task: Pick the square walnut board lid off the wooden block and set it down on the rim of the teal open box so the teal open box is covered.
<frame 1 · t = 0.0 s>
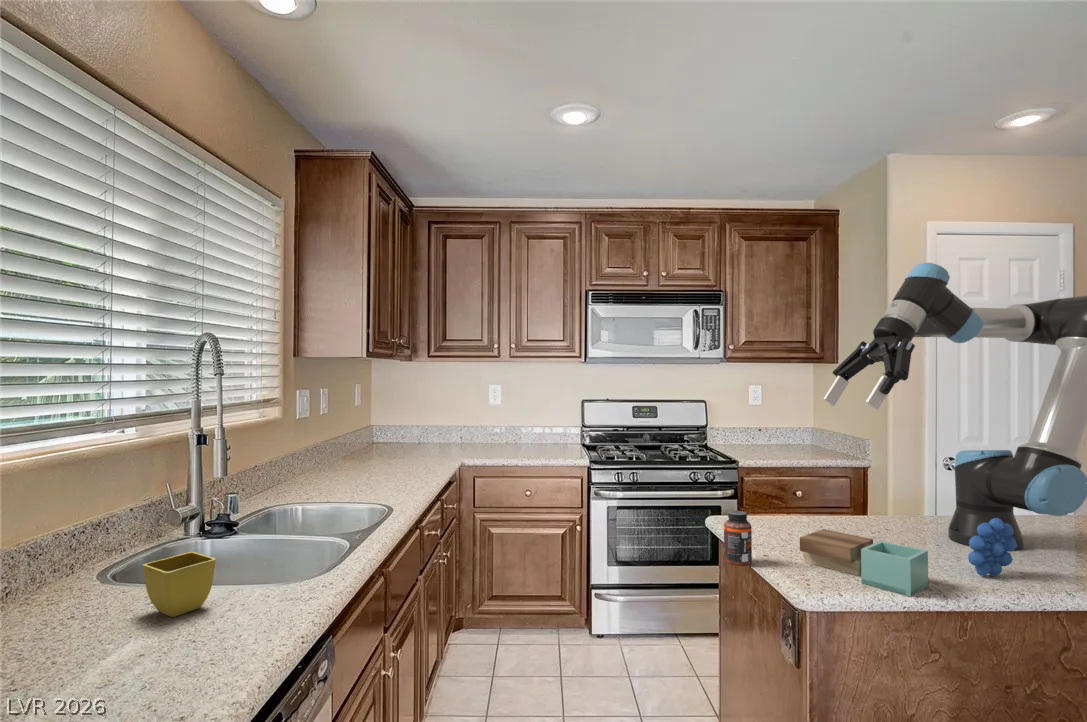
hand: (848, 404, 128), 36 cm above the countertop, tool tilted 35°, fingers open, 13 cm apart
grapes: (988, 575, 125), on the countertop
teal open box: (894, 584, 120), on the countertop
wooden block: (836, 565, 132), on the countertop
flower pot: (179, 611, 108), on the countertop
supplement bottle: (737, 563, 134), on the countertop
lid: (836, 551, 132), point 3 cm above the countertop, touching wooden block
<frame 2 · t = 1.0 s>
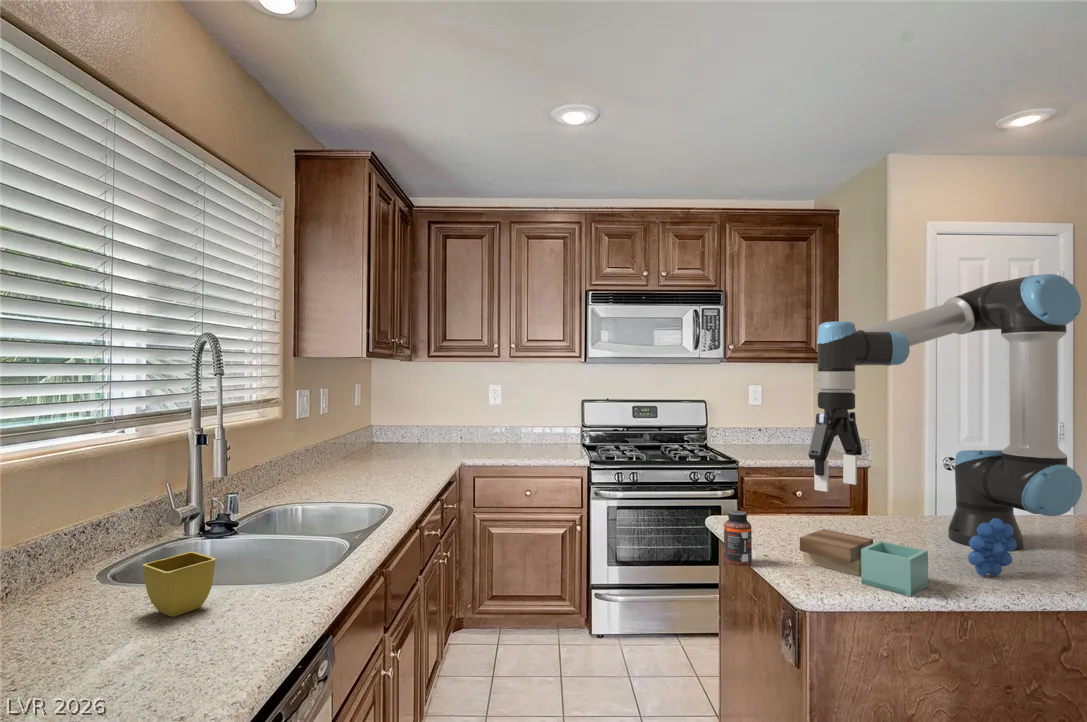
hand: (836, 487, 132), 17 cm above the countertop, tool pointing down, fingers open, 13 cm apart
nothing on the countertop moved.
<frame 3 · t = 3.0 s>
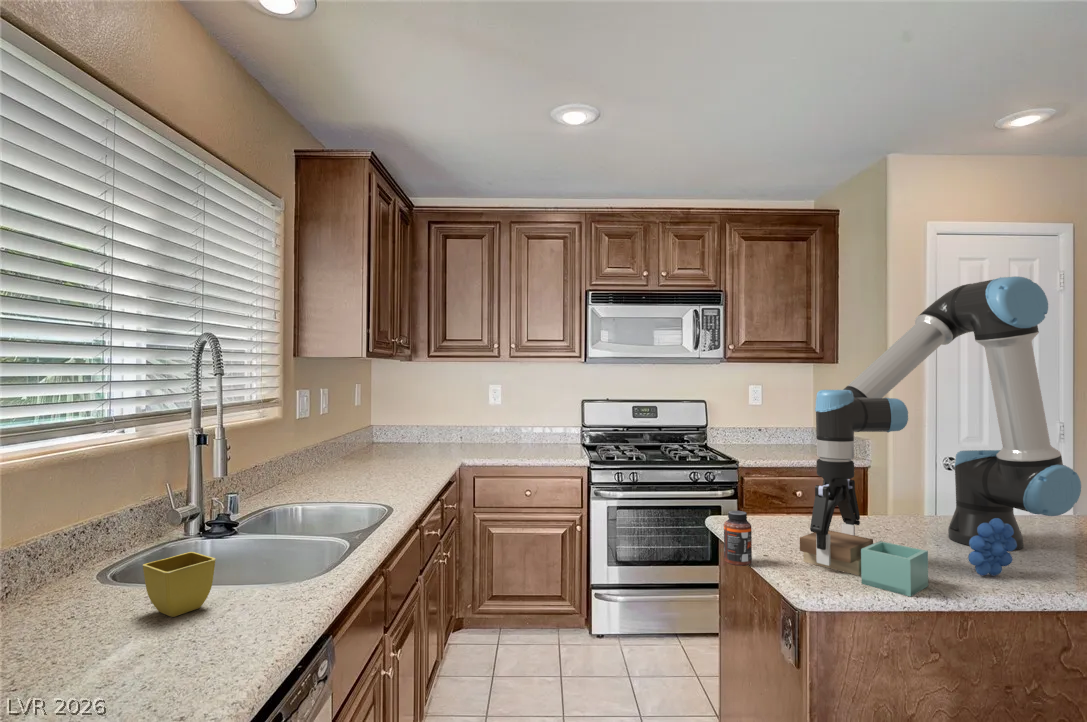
hand: (836, 558, 132), 2 cm above the countertop, tool pointing down, fingers closed on lid, 11 cm apart
lid: (836, 551, 132), point 3 cm above the countertop, touching gripper, wooden block
everything else where it was.
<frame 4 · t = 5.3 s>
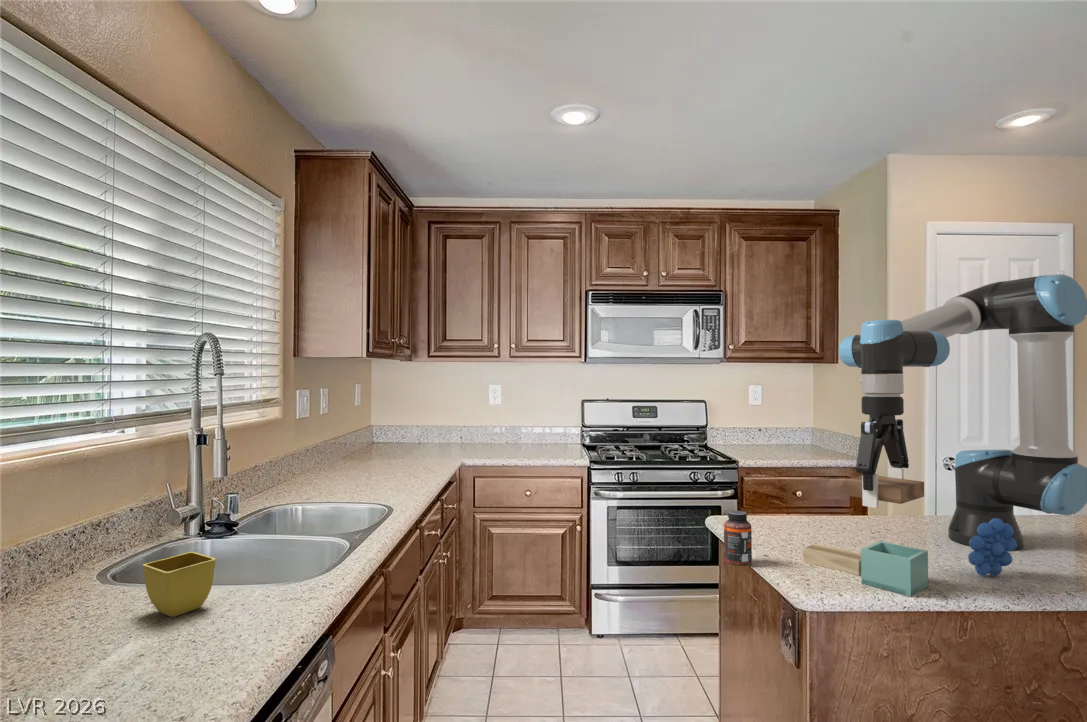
hand: (883, 502, 122), 16 cm above the countertop, tool pointing down, fingers closed on lid, 11 cm apart
lid: (883, 495, 122), point 18 cm above the countertop, touching gripper
everything else where it was.
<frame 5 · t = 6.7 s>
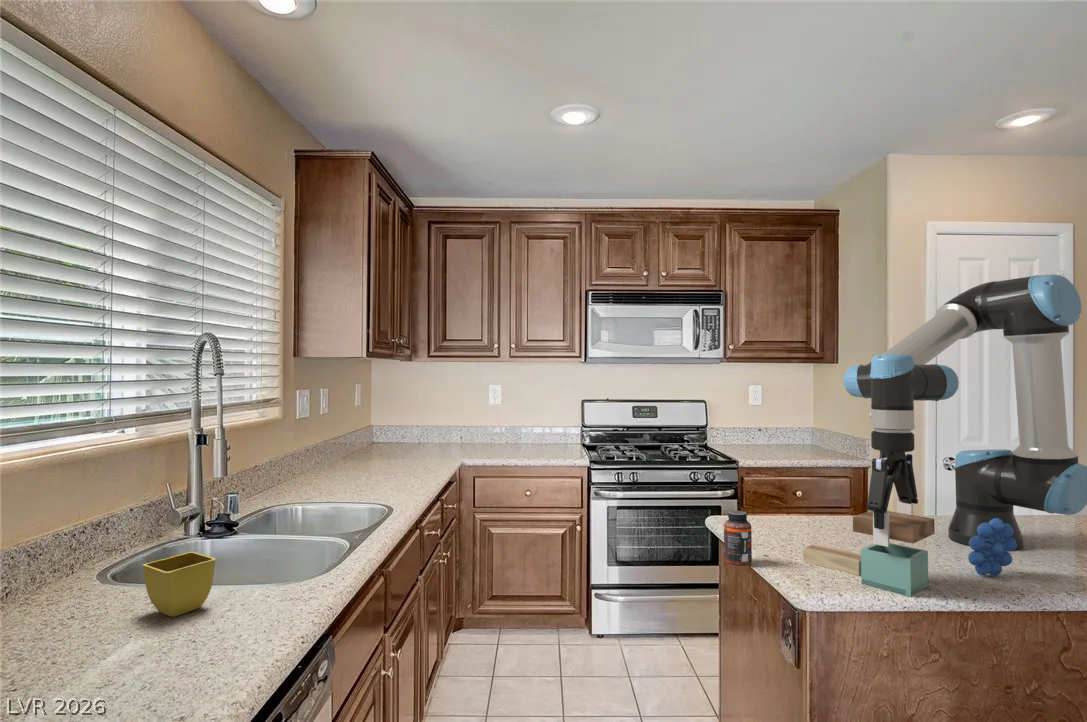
hand: (893, 539, 120), 9 cm above the countertop, tool pointing down, fingers closed on lid, 11 cm apart
lid: (893, 532, 120), point 10 cm above the countertop, touching gripper
everything else where it was.
when the fingers open (7 cm above the countertop, at t = 7.7 s): lid drops 1 cm, resting on teal open box.
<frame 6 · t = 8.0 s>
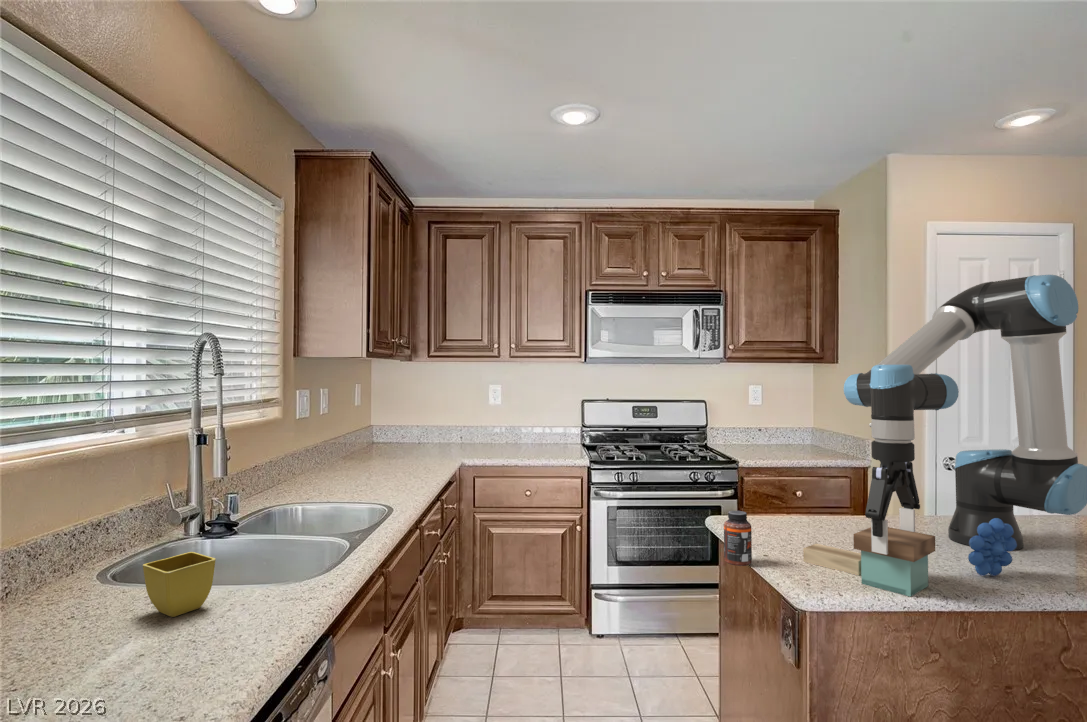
hand: (894, 546, 120), 8 cm above the countertop, tool pointing down, fingers open, 13 cm apart
lid: (894, 549, 120), point 7 cm above the countertop, touching teal open box
everything else where it was.
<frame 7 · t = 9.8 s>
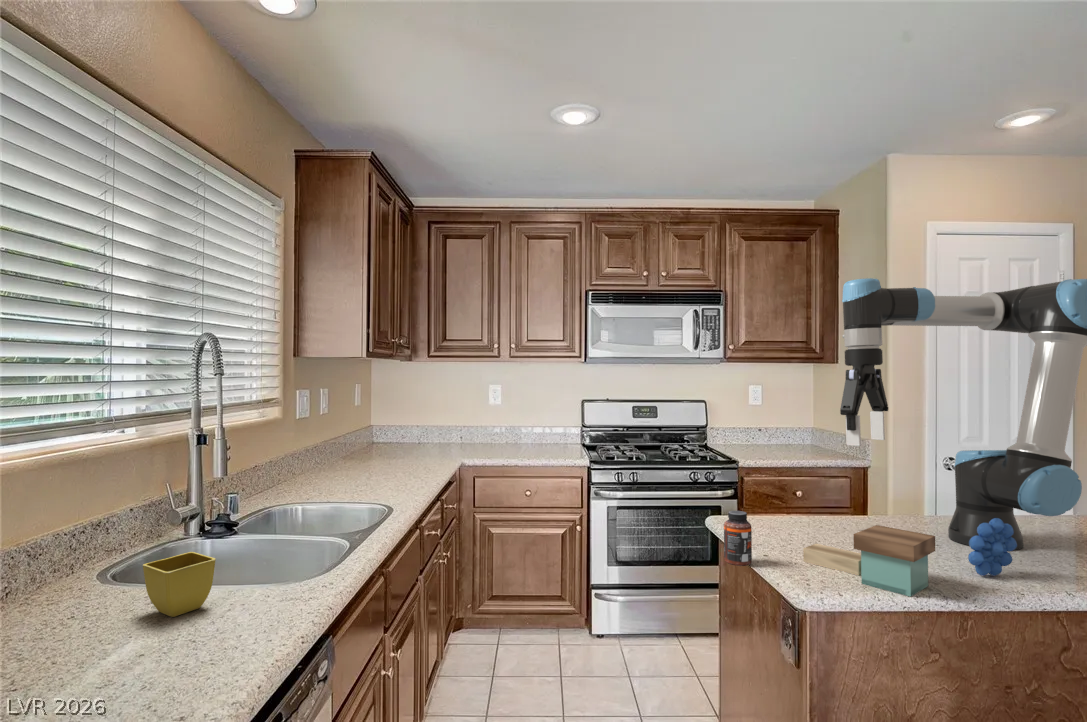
hand: (866, 442, 134), 27 cm above the countertop, tool pointing down, fingers open, 13 cm apart
nothing on the countertop moved.
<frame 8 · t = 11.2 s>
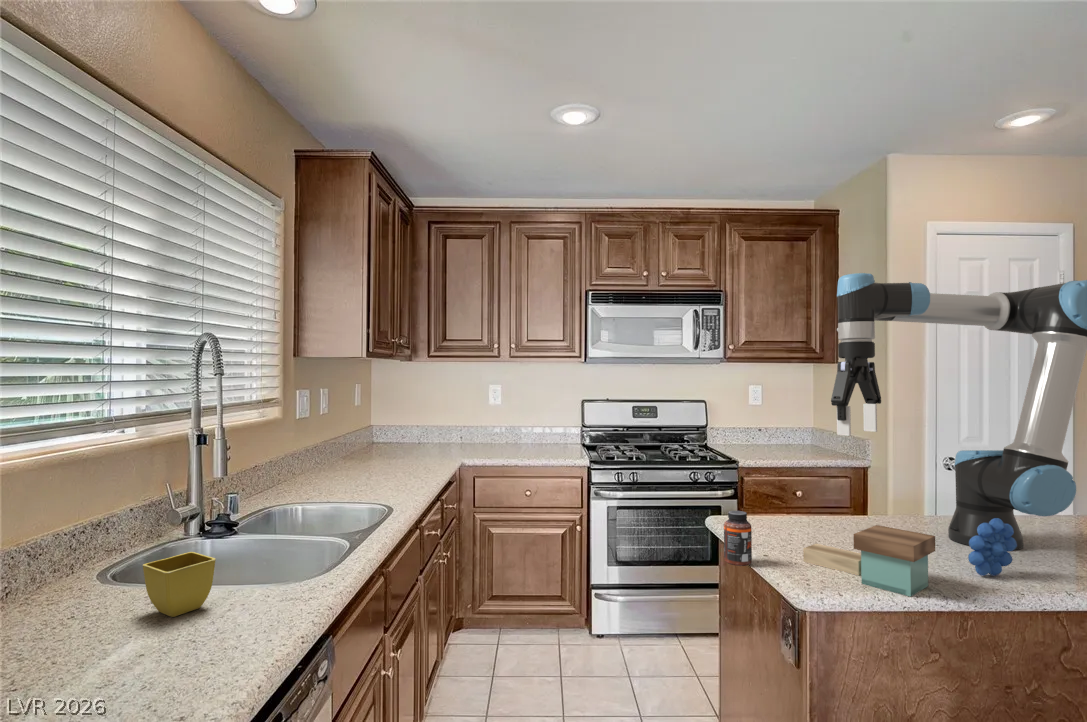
hand: (857, 433, 137), 29 cm above the countertop, tool pointing down, fingers open, 13 cm apart
nothing on the countertop moved.
at the end: lid 0.0 cm off-centre on the teal open box, point 7.0 cm above the teal open box's base; lid tilted 0°; the gripper is holding nothing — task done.
